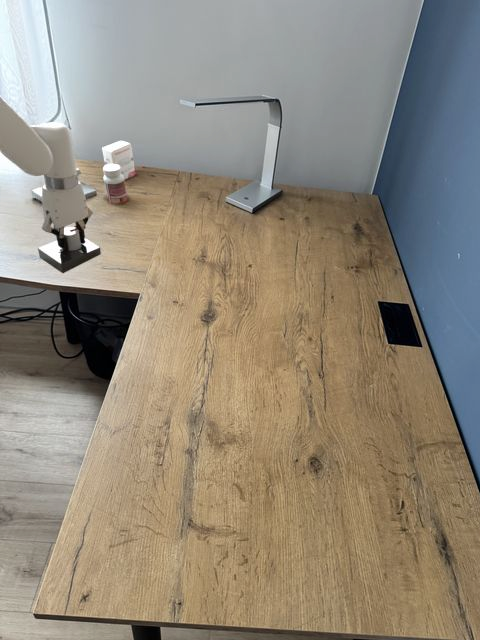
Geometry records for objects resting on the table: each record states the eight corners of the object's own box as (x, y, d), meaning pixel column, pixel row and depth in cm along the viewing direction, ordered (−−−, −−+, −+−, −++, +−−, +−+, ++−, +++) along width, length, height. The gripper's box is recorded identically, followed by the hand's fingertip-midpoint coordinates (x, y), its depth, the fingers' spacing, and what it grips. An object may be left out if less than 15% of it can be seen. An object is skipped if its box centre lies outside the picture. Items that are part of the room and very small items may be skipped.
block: (55, 213, 150) (52, 201, 147) (29, 197, 155) (26, 185, 152) (99, 197, 160) (97, 186, 157) (73, 183, 165) (71, 171, 162)
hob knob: (70, 252, 131) (67, 236, 128) (60, 245, 133) (57, 229, 129) (84, 246, 134) (82, 230, 130) (74, 239, 135) (71, 223, 132)
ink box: (126, 173, 173) (121, 139, 165) (136, 177, 171) (131, 142, 163) (107, 182, 168) (101, 147, 160) (117, 186, 166) (111, 151, 158)
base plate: (63, 274, 129) (61, 263, 127) (39, 257, 133) (37, 247, 131) (101, 256, 136) (100, 246, 134) (78, 241, 140) (76, 231, 138)
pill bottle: (131, 201, 159) (126, 166, 151) (117, 208, 156) (111, 173, 148) (118, 195, 162) (112, 161, 154) (103, 202, 158) (96, 167, 150)
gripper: (81, 164, 127) (89, 228, 140) (19, 183, 117) (35, 250, 129) (100, 175, 124) (107, 239, 137) (39, 195, 114) (52, 263, 126)
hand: (72, 244), depth 133 cm, fingers closed on hob knob, 4 cm apart
